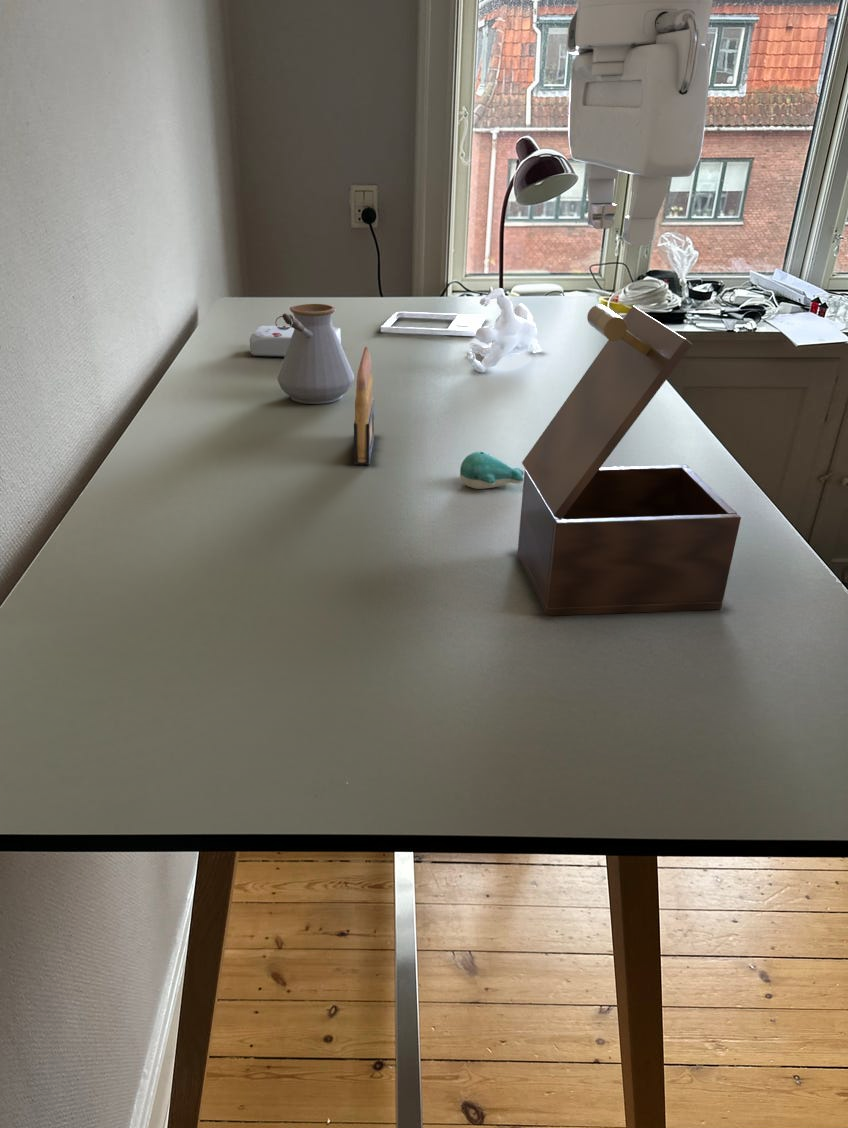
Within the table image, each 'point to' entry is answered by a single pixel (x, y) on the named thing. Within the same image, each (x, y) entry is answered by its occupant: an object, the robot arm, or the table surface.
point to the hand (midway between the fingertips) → (617, 235)
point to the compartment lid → (603, 403)
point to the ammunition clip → (364, 412)
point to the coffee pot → (314, 357)
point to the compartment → (630, 543)
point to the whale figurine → (487, 471)
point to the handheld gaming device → (273, 340)
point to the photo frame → (459, 326)
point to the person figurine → (504, 333)
